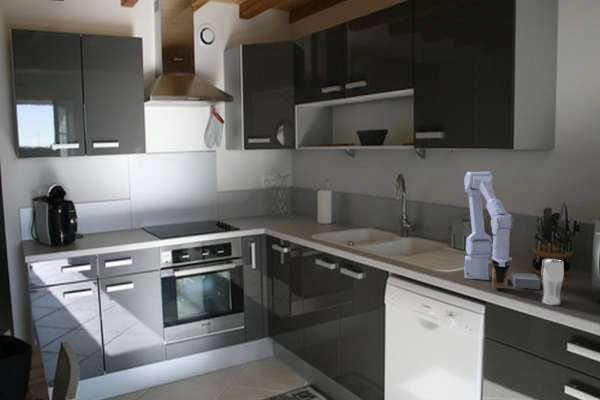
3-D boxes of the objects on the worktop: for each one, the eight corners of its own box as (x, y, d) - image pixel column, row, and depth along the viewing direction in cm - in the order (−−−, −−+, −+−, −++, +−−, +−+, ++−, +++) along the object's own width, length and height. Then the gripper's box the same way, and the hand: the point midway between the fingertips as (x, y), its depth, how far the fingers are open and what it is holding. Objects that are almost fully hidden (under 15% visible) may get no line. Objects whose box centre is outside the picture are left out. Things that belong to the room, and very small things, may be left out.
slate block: (514, 288, 198) (515, 278, 198) (510, 282, 207) (511, 272, 207) (539, 290, 196) (540, 279, 196) (534, 283, 205) (535, 274, 205)
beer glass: (564, 302, 180) (566, 260, 179) (558, 307, 175) (560, 264, 173) (543, 298, 185) (545, 257, 183) (537, 303, 180) (539, 261, 178)
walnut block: (492, 286, 195) (493, 270, 195) (492, 282, 200) (492, 267, 199) (507, 287, 194) (507, 271, 193) (505, 283, 199) (506, 268, 198)
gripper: (514, 250, 187) (512, 286, 189) (510, 242, 201) (509, 276, 202) (493, 249, 189) (492, 285, 191) (491, 241, 203) (490, 275, 204)
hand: (499, 280), depth 197 cm, fingers closed on walnut block, 5 cm apart
